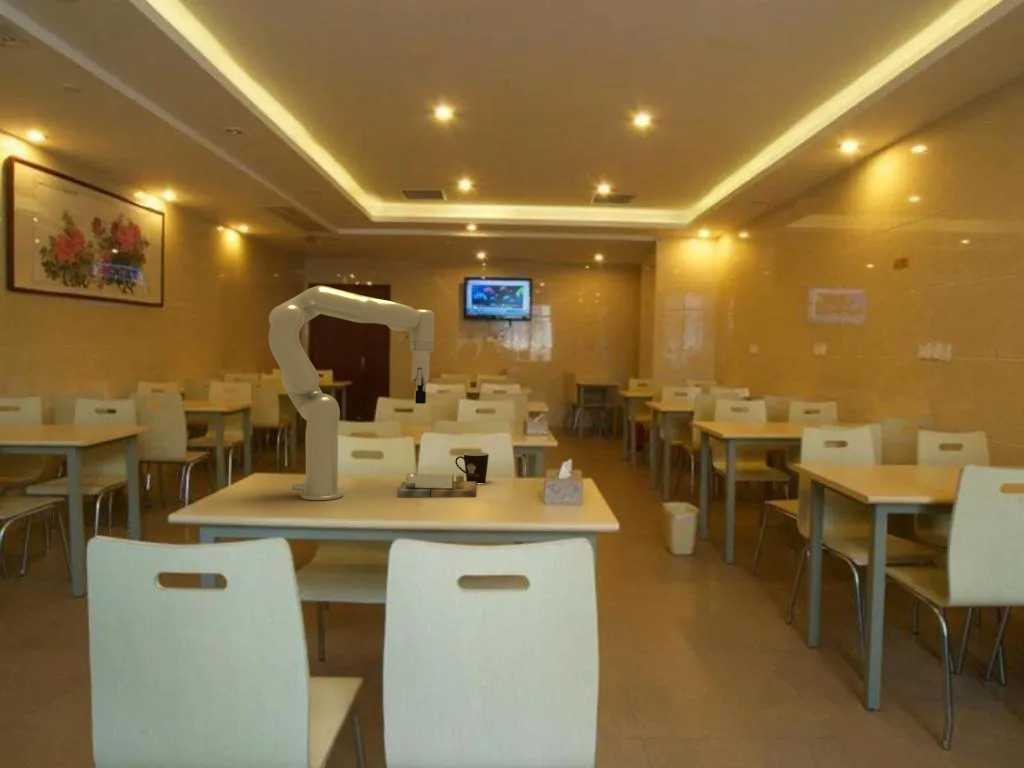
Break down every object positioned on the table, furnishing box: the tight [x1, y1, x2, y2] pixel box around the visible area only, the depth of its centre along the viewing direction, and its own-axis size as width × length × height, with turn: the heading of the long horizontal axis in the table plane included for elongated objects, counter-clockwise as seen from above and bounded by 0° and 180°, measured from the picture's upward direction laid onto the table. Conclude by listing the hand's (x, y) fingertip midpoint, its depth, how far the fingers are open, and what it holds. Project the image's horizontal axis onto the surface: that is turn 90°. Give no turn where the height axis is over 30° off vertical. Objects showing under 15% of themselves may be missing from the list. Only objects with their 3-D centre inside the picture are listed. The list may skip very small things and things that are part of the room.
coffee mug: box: [454, 451, 490, 484], centre depth 237 cm, size 12×9×10 cm
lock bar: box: [405, 472, 455, 488], centre depth 214 cm, size 15×4×4 cm, turn 86°
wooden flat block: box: [396, 473, 477, 498], centre depth 219 cm, size 24×16×6 cm, turn 92°
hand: (420, 403), depth 226 cm, fingers closed
